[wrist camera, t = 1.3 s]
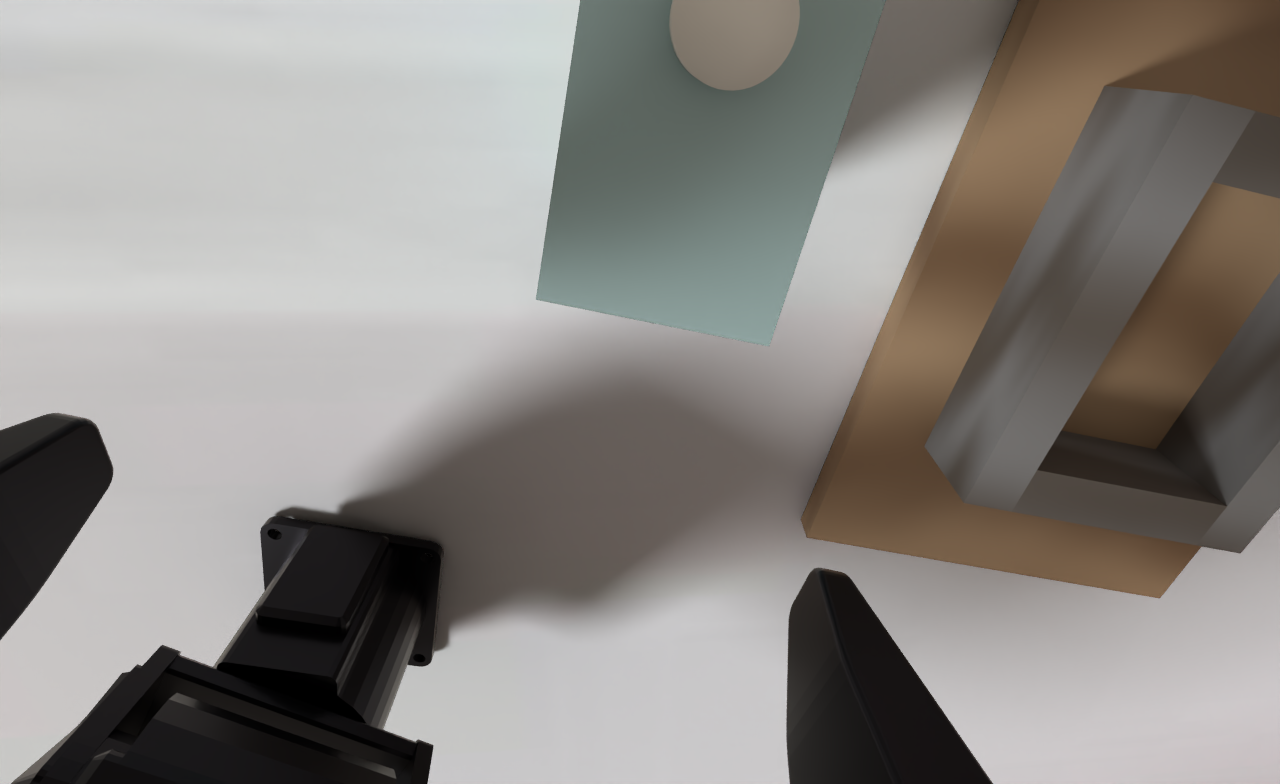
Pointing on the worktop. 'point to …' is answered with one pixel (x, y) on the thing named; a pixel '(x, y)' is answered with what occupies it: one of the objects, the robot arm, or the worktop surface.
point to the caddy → (1085, 310)
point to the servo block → (697, 155)
